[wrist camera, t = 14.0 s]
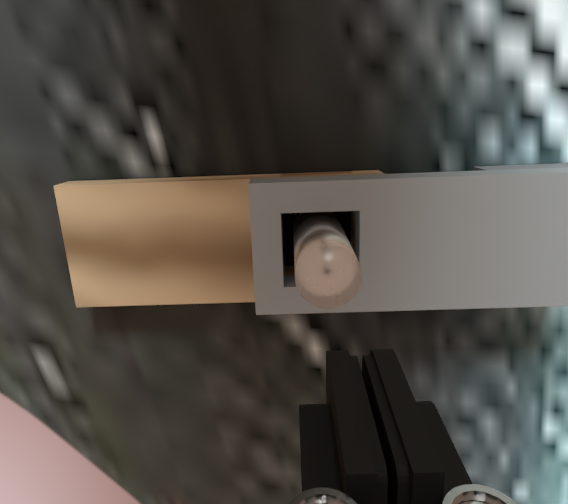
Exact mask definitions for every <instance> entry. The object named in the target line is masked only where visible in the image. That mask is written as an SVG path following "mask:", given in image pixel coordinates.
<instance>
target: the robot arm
mask: <svg viewBox="0 0 568 504" xmlns="http://www.w3.org/2000/svg"><path fill="white" fill-rule="evenodd" d="M326 399H327V404H305V405H299V416H300V447H301V476H302V493H300V494H299V495H297V496H296V497H294V498H293V500H292V501H291V502H290V503H289V504H516V503H515V502H514V501H513V500H512V499H510V498H509V497H507V496H506V495H504V494H503V493H501V492H499V491H497V490H494V489H492V488H490V487H486V486H481V485H477V484H472V482H471V480H470V478H469V476H468V474H467V472H466V469H465V467H464V465H463V463H462V461H461V459H460V457H459V455H458V453H457V451H456V449H455V447H454V444H453V442H452V440H451V438H450V436H449V434H448V432H447V430H446V428H445V426H444V424H443V422H442V419H441V417H440V415H439V413H438V411H437V409H436V407H435V405H434V404H433V403H432V402H431V401H420V402H416V401H415V399H414V397H413V394H412V392H411V389H410V387H409V385H408V382H407V380H406V378H405V375H404V373H403V371H402V368H401V366H400V363H399V361H398V359H397V356H396V354H395V352H394V350H393V349H378V350H371V351H370V355H369V356H363V358H362V373H361V369H360V366H359V362H358V358H357V356H349V352H348V350H342V351H326Z"/></svg>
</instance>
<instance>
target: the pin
mask: <svg viewBox="0 0 568 504" xmlns="http://www.w3.org/2000/svg"><path fill="white" fill-rule="evenodd" d="M293 241H294V267H295V283H296V287H297V290H298V292H299V293H300V295H301V296H302V298H303V299H304V300H305V301H307V302H308V303H310V304H311V305H313V306H316V307H319V308H325V309H331V308H337V307H340V306H343V305H345V304H346V303H348V302H349V301H351V300H352V299H353V298H354V297H355V296H356V294H357V293H358V291H359V289H360V287H361V283H362V269H361V266H360V263H359V261H358V259H357V257H356V255H355V253H354V251H353V249H352V246H351V244H350V242H349V240H348V238H347V236H346V234H345V232H344V230H343V228H342V226H341V223H340V221H339V219H338V218H337V216H336V215H335V214H334V213H333V212H306V213H301V214H300V215H299V216H298V218H297V219H296V221H295V223H294V227H293Z"/></svg>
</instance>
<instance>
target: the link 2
mask: <svg viewBox="0 0 568 504" xmlns="http://www.w3.org/2000/svg"><path fill="white" fill-rule="evenodd" d="M248 192H249V208H250V225H251V241H252V257H253V274H254V290H255V307H256V315H273V314H308V313H342V312H377V311H412V310H446V309H481V308H515V307H550V306H568V163H558V164H530V165H503V166H475V167H473V171H453V172H425V173H397V174H369V175H342V176H314V177H286V178H258V179H251V180H250V181H249V183H248ZM335 211H355V255H356V257H357V259H358V261H359V263H360V266H361V269H362V283H361V287H360V289H359V291H358V293H357V294H356V296H355V297H354V298H353V299H352V300H351V301H349V302H348V303H346V304H345V305H343V306H340V307H337V308H331V309H325V308H319V307H316V306H313V305H311V304H310V303H308V302H307V301H305V300H304V299H303V298H302V296H301V295H300V293H299V292H298V290H297V287H296V283H295V276H284V262H283V237H282V213H306V212H335Z"/></svg>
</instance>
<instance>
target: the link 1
mask: <svg viewBox="0 0 568 504" xmlns="http://www.w3.org/2000/svg"><path fill="white" fill-rule="evenodd" d="M369 174H384V173H383V172H381V171H379V170H365V171H337V172H310V173H282V174H254V175H227V176H199V177H172V178H144V179H117V180H89V181H68V182H65V183H61V184H58V185H55V186H54V191H55V197H56V202H57V207H58V213H59V218H60V223H61V229H62V234H63V239H64V245H65V250H66V255H67V261H68V266H69V271H70V277H71V282H72V288H73V293H74V298H75V304H76V307H104V306H138V305H172V304H206V303H239V302H255V290H254V274H253V257H252V241H251V225H250V208H249V192H248V183H249V181H250V180H251V179H258V178H286V177H314V176H342V175H369ZM282 237H283V217H282ZM351 246H352V249H353V251H354V253H355V211H351ZM283 262H284V242H283ZM284 276H295V267H294V266H284Z"/></svg>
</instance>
